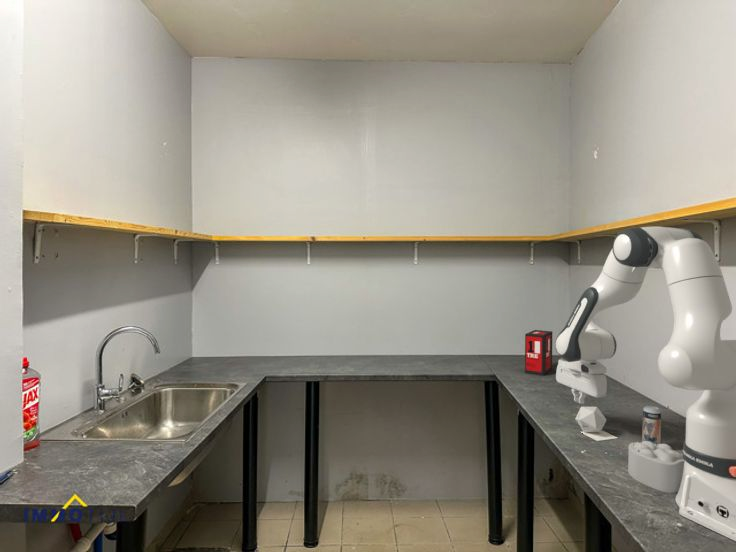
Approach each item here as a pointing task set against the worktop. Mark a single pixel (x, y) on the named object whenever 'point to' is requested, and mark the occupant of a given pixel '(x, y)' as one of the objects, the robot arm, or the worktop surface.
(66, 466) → the worktop surface
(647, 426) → the beer can
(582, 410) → the die
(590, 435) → the pad
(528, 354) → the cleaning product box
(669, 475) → the lumpy-topped squat cylinder
